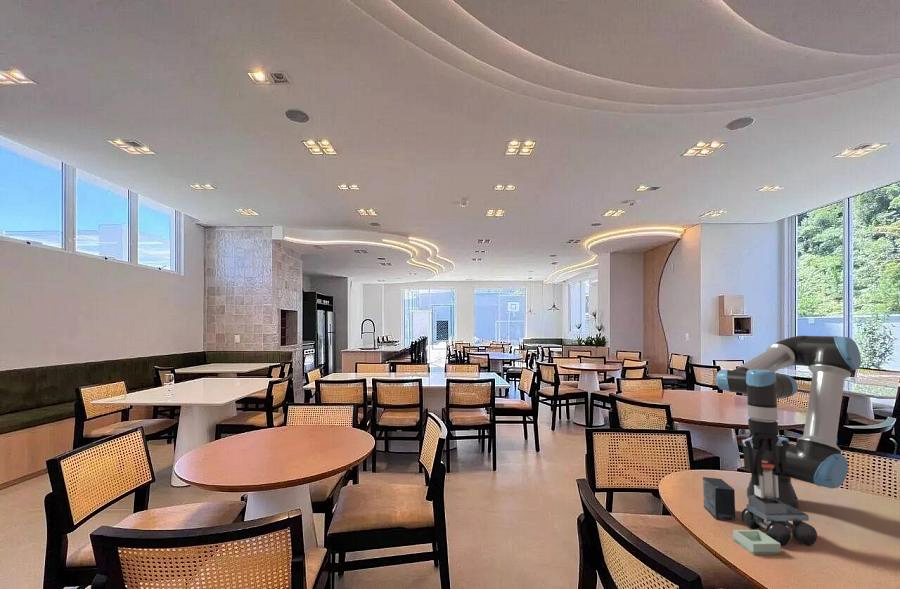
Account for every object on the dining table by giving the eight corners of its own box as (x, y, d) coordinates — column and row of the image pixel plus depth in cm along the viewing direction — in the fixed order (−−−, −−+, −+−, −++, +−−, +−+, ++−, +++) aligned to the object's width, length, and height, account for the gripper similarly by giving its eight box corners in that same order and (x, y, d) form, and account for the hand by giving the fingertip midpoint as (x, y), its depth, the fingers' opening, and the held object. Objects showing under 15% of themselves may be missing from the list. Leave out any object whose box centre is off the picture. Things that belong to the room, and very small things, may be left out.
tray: (759, 540, 125) (758, 529, 125) (781, 554, 117) (780, 543, 117) (733, 540, 125) (732, 530, 125) (753, 555, 117) (753, 544, 117)
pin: (768, 506, 130) (766, 460, 132) (781, 513, 126) (778, 465, 127) (753, 506, 130) (751, 460, 131) (765, 513, 126) (763, 465, 127)
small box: (737, 522, 136) (735, 489, 137) (715, 520, 138) (714, 487, 138) (723, 508, 147) (721, 477, 148) (702, 506, 148) (701, 476, 149)
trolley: (783, 525, 134) (781, 491, 135) (817, 545, 122) (815, 507, 123) (741, 526, 133) (740, 491, 134) (771, 546, 121) (769, 508, 122)
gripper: (779, 416, 134) (783, 490, 132) (727, 416, 134) (731, 491, 132) (799, 422, 127) (804, 500, 125) (745, 422, 126) (748, 501, 124)
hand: (766, 495), depth 128 cm, fingers open, 4 cm apart
